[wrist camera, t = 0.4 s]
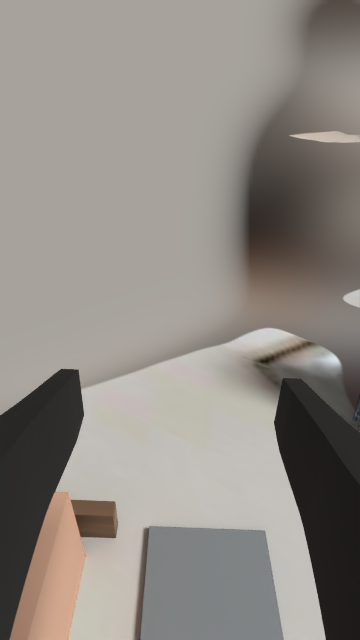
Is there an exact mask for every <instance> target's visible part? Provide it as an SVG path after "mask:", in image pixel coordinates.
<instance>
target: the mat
mask: <svg viewBox="0 0 360 640" xmlns="http://www.w3.org/2000/svg"><path fill="white" fill-rule="evenodd" d="M140 640H284V639H283V633H282V627H281V621H280V615H279V609H278V604H277V598H276V592H275V586H274V580H273V574H272V568H271V563H270V557H269V551H268V545H267V539H266V533H265V531H261V530H235V529H209V528H183V527H157V526H149V538H148V550H147V562H146V575H145V587H144V599H143V612H142V624H141V636H140Z"/></svg>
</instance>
